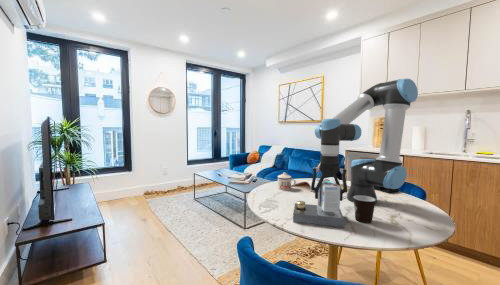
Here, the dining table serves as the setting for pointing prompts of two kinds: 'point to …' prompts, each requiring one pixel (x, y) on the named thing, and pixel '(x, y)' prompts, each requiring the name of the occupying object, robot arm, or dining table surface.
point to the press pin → (301, 205)
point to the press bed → (317, 216)
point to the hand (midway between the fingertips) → (328, 206)
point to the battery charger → (385, 189)
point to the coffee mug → (364, 208)
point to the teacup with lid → (285, 182)
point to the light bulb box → (329, 196)
